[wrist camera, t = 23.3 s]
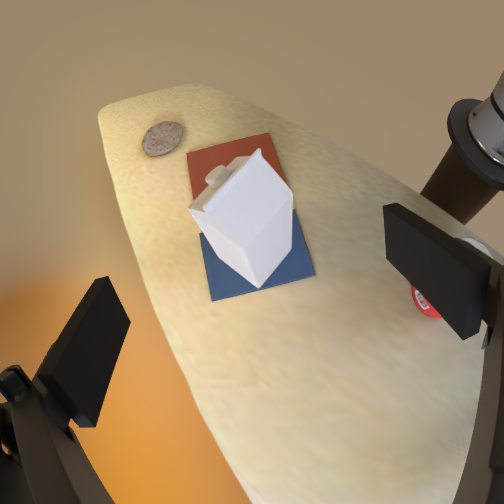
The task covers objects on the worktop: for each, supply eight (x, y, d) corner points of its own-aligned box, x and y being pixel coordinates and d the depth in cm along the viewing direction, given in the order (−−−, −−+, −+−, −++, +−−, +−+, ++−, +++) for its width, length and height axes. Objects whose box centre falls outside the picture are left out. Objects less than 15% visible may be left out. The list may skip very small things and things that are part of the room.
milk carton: (292, 248, 43) (293, 168, 25) (258, 289, 42) (236, 232, 24) (251, 220, 45) (229, 130, 27) (218, 258, 44) (173, 185, 26)
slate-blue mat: (294, 210, 45) (294, 208, 45) (315, 275, 42) (315, 274, 41) (199, 234, 46) (199, 233, 45) (212, 301, 42) (211, 300, 42)
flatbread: (154, 122, 55) (152, 119, 54) (189, 124, 53) (188, 121, 52) (135, 156, 52) (133, 153, 51) (172, 160, 51) (170, 157, 50)
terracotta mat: (268, 133, 51) (268, 132, 50) (289, 192, 46) (289, 191, 46) (187, 155, 51) (186, 153, 51) (196, 216, 47) (196, 215, 46)
